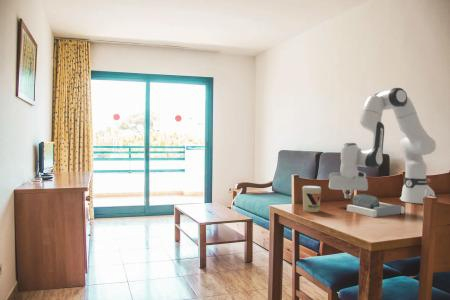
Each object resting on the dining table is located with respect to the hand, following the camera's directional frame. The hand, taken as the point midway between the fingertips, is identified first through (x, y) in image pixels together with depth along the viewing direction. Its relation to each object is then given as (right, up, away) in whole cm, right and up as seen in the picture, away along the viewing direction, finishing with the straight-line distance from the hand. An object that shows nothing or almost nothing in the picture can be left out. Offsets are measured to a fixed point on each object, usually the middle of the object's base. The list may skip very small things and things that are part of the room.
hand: (347, 198), depth 202 cm
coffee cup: (-23, -5, -15) cm, 28 cm away
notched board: (+9, -5, -16) cm, 19 cm away
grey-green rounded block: (+5, -5, -12) cm, 14 cm away
